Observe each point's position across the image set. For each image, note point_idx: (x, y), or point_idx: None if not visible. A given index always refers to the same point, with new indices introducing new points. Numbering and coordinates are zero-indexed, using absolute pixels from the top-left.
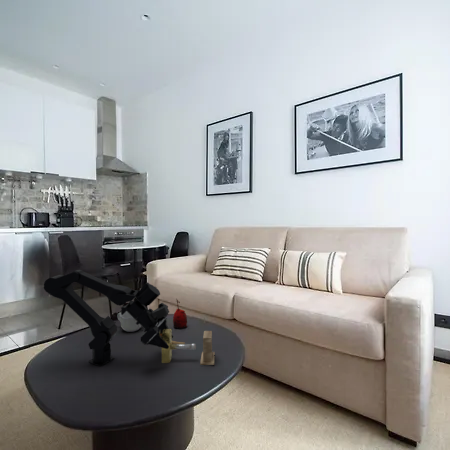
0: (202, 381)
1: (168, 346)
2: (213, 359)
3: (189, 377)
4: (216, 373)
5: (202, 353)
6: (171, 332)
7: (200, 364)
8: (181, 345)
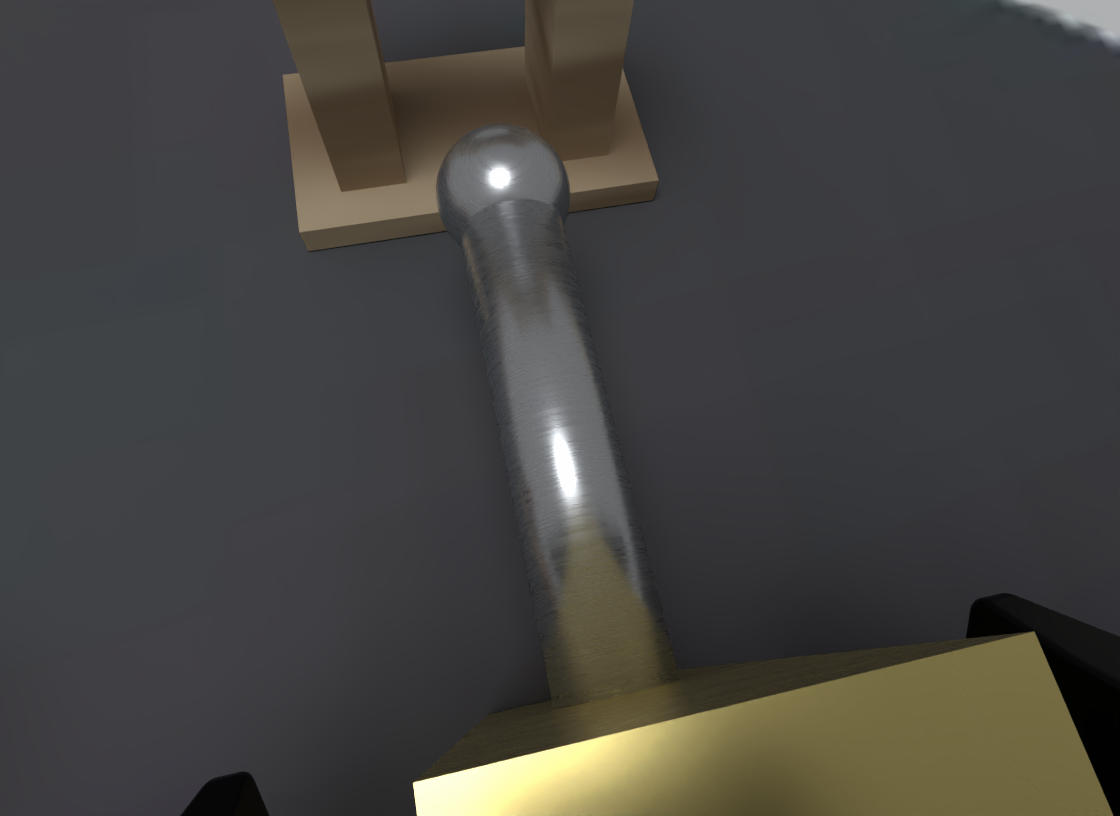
0: (971, 111)
1: (1023, 600)
2: (511, 55)
3: (956, 254)
4: (768, 16)
5: (344, 215)
6: (477, 751)
7: (655, 186)
8: (594, 394)
